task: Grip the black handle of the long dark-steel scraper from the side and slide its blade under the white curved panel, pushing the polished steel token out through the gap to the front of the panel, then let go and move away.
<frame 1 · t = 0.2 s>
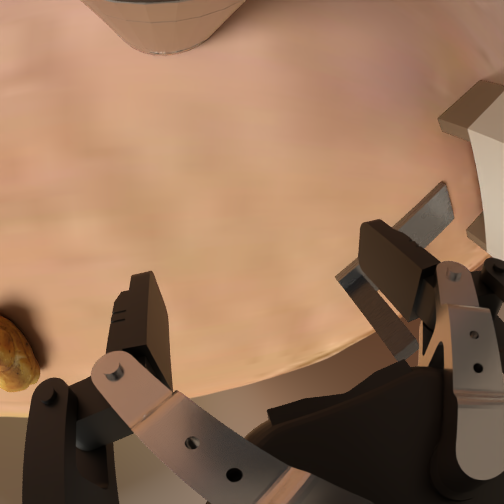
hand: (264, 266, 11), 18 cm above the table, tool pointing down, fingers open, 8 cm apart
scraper: (353, 282, 40), on the table
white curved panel: (478, 164, 35), on the table
bread roll: (9, 339, 30), on the table
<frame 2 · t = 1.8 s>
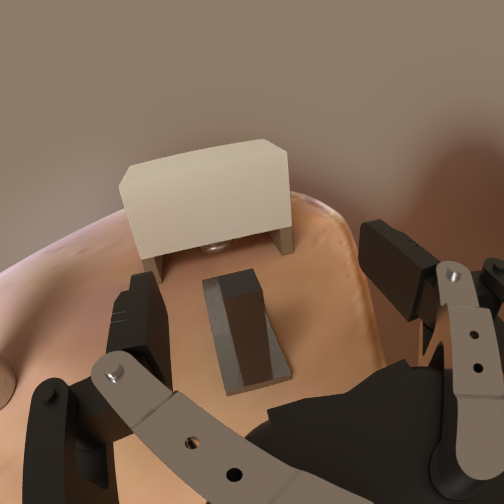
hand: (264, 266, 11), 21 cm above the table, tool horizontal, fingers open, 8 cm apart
steel token: (215, 245, 56), on the table
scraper: (256, 378, 31), on the table
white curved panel: (217, 250, 54), on the table
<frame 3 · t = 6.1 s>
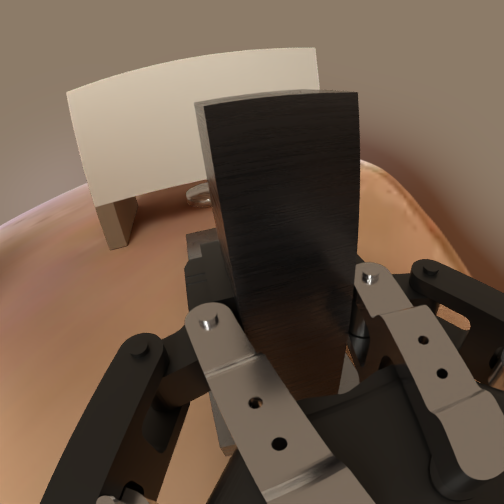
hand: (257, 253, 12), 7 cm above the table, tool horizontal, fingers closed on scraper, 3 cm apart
steel token: (211, 199, 39), on the table
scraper: (290, 411, 13), on the table, touching gripper
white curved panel: (212, 204, 36), on the table
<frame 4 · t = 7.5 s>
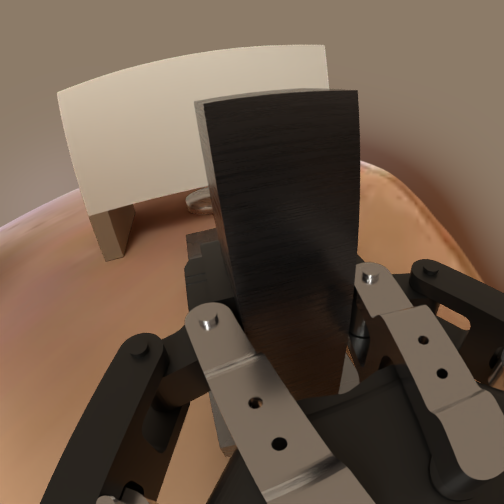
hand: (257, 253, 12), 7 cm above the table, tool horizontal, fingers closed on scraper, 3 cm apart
steel token: (212, 205, 37), on the table
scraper: (290, 411, 13), on the table, touching gripper
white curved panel: (213, 210, 34), on the table
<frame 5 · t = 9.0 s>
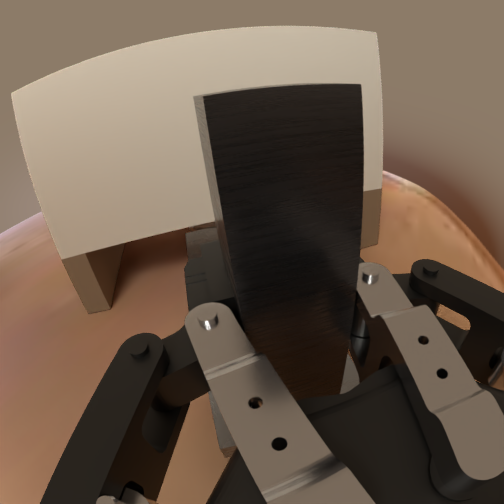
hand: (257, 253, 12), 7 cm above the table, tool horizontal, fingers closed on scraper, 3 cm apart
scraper: (291, 412, 13), on the table, touching gripper
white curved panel: (224, 242, 27), on the table
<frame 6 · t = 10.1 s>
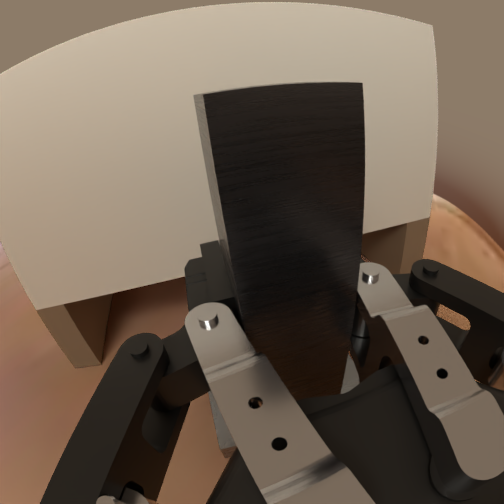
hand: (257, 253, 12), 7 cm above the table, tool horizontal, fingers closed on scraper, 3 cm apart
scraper: (291, 412, 13), on the table, touching gripper
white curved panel: (236, 276, 23), on the table
when the fingers open (7 cm above the table, at t = 11.1 s): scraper stays where it is, on the table.
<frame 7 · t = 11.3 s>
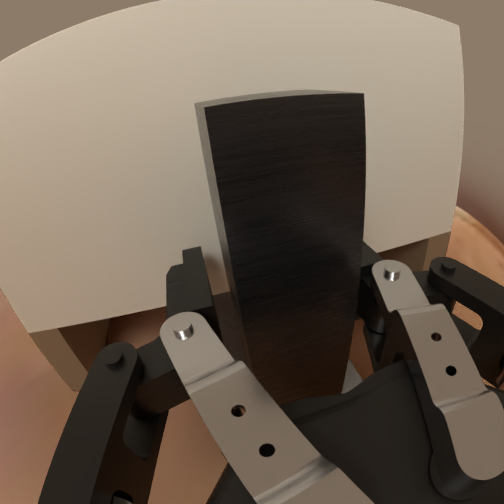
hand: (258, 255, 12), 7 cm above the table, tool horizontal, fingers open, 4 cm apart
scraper: (292, 415, 13), on the table
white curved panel: (243, 291, 21), on the table
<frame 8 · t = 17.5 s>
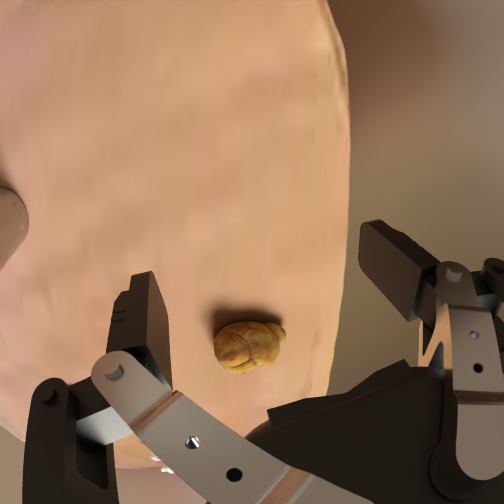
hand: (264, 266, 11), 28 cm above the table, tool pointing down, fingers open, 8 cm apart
bust: (169, 441, 67), on the table
bread roll: (246, 334, 53), on the table
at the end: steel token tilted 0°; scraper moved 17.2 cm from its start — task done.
